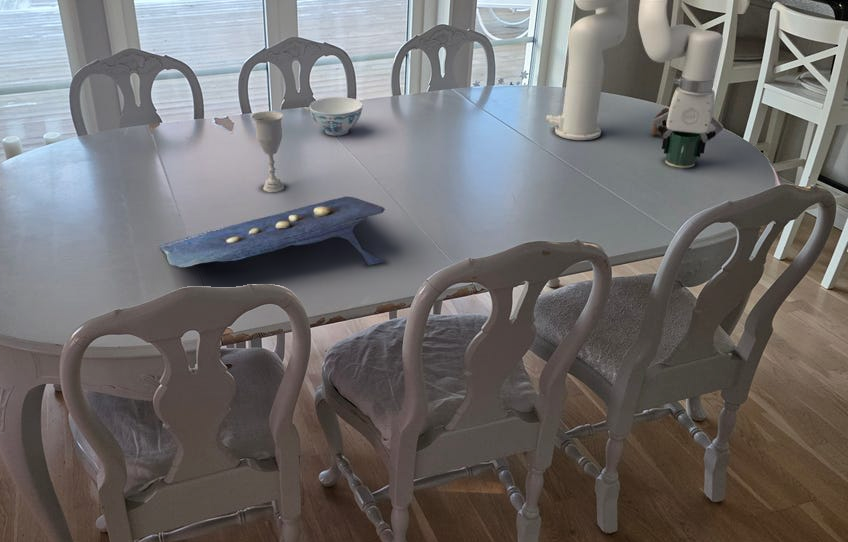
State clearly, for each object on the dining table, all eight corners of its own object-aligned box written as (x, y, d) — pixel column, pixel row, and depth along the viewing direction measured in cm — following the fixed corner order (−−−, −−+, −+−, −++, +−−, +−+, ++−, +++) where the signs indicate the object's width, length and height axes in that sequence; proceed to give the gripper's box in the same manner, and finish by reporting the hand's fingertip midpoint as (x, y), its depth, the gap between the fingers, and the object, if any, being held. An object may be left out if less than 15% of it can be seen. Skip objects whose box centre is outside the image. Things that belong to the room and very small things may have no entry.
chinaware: (372, 128, 227) (372, 102, 223) (344, 144, 216) (343, 117, 212) (330, 119, 234) (329, 94, 229) (300, 134, 223) (298, 108, 219)
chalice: (292, 184, 193) (287, 113, 184) (281, 195, 188) (275, 122, 178) (265, 180, 195) (259, 110, 186) (253, 191, 190) (246, 119, 180)
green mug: (665, 155, 205) (671, 126, 201) (695, 159, 203) (702, 129, 199) (663, 169, 197) (669, 139, 193) (694, 173, 195) (701, 142, 191)
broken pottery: (695, 141, 215) (691, 119, 210) (661, 156, 218) (656, 134, 212) (679, 117, 224) (674, 95, 218) (646, 131, 226) (641, 109, 220)
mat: (188, 319, 146) (171, 260, 143) (167, 288, 171) (153, 237, 167) (403, 256, 160) (393, 201, 156) (355, 235, 184) (346, 187, 181)
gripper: (657, 85, 190) (645, 154, 200) (735, 92, 185) (718, 163, 194) (660, 77, 196) (647, 144, 206) (734, 83, 191) (718, 152, 200)
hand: (681, 153), depth 200 cm, fingers closed on green mug, 7 cm apart
